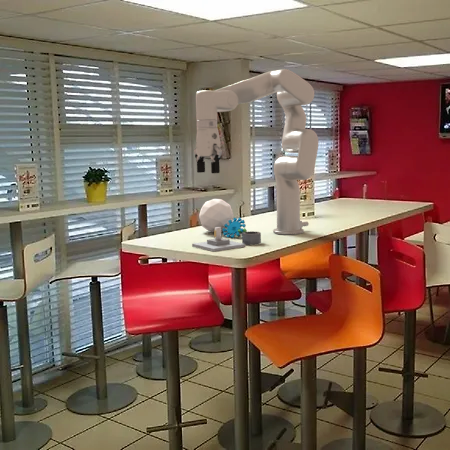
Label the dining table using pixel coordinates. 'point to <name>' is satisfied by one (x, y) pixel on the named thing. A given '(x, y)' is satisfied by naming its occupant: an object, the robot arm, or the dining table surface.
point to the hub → (251, 238)
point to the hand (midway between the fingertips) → (208, 172)
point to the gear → (234, 228)
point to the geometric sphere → (215, 214)
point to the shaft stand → (218, 243)
